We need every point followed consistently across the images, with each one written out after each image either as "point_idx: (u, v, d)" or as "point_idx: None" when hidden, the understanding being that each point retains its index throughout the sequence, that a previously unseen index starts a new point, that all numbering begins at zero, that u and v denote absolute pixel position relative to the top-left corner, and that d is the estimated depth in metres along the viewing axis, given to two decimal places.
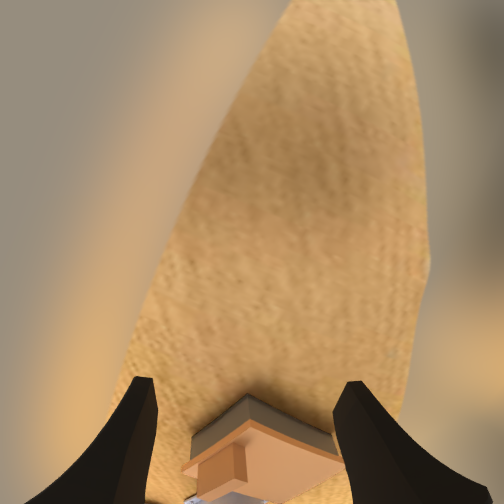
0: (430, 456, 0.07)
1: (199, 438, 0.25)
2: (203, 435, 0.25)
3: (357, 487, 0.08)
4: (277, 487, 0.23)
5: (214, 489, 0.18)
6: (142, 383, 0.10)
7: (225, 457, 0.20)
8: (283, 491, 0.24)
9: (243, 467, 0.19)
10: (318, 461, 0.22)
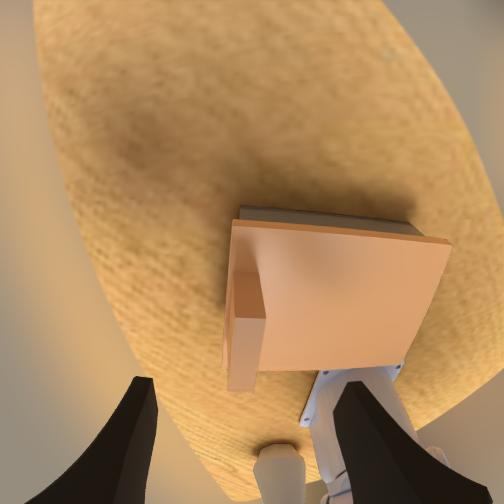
0: (430, 456, 0.07)
1: None
2: None
3: (357, 487, 0.08)
4: (372, 334, 0.17)
5: (232, 359, 0.13)
6: (142, 383, 0.10)
7: (232, 299, 0.14)
8: (387, 338, 0.18)
9: (255, 298, 0.13)
10: (397, 253, 0.15)
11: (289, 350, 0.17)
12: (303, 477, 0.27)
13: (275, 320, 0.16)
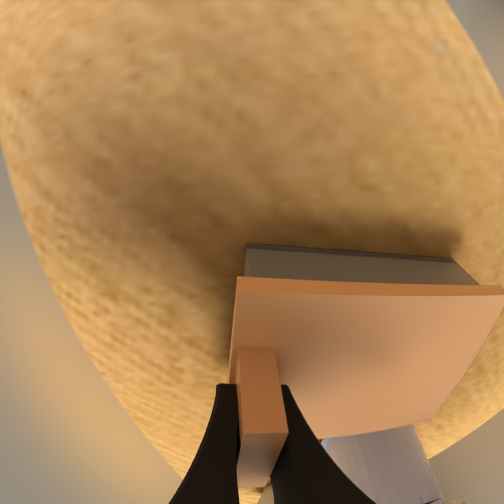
0: (344, 477, 0.07)
1: None
2: None
3: (277, 498, 0.08)
4: (406, 398, 0.13)
5: (238, 466, 0.08)
6: (229, 390, 0.10)
7: (237, 386, 0.10)
8: (421, 399, 0.13)
9: (271, 396, 0.09)
10: (450, 311, 0.10)
11: None
12: None
13: None
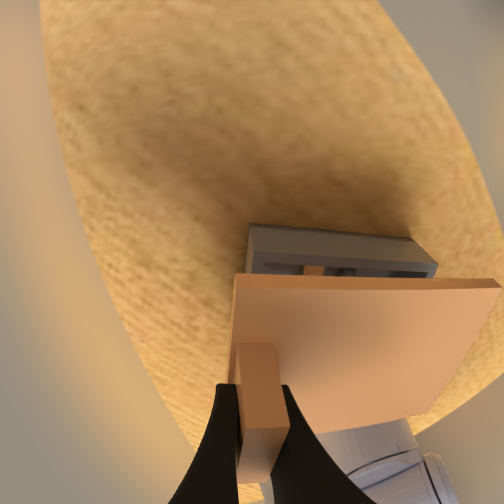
0: (344, 477, 0.07)
1: None
2: None
3: (277, 498, 0.08)
4: (402, 391, 0.13)
5: (240, 461, 0.08)
6: (228, 390, 0.10)
7: (237, 382, 0.10)
8: (417, 392, 0.14)
9: (271, 390, 0.09)
10: (445, 304, 0.11)
11: (305, 417, 0.13)
12: None
13: None
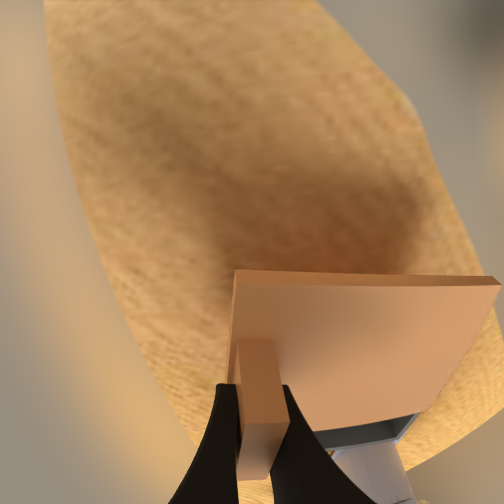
0: (344, 477, 0.07)
1: None
2: None
3: (277, 498, 0.08)
4: (402, 388, 0.13)
5: (240, 458, 0.09)
6: (229, 390, 0.10)
7: (236, 378, 0.10)
8: (417, 389, 0.14)
9: (271, 386, 0.09)
10: (444, 301, 0.11)
11: (305, 414, 0.13)
12: None
13: (290, 388, 0.12)
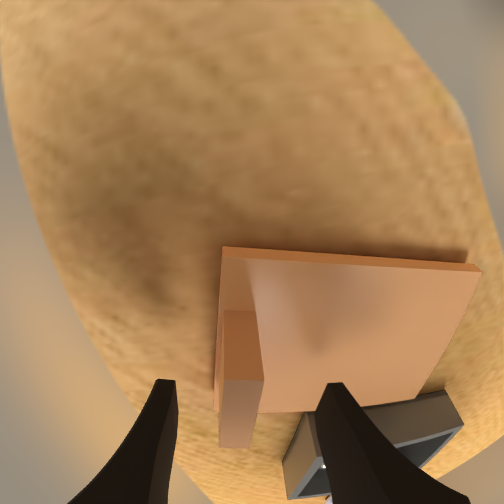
0: (409, 462, 0.07)
1: (286, 465, 0.19)
2: (288, 462, 0.19)
3: (336, 491, 0.08)
4: (386, 372, 0.14)
5: (222, 420, 0.10)
6: (165, 386, 0.10)
7: (222, 346, 0.11)
8: (402, 375, 0.15)
9: (250, 350, 0.10)
10: (422, 284, 0.12)
11: (291, 392, 0.14)
12: None
13: (275, 363, 0.13)
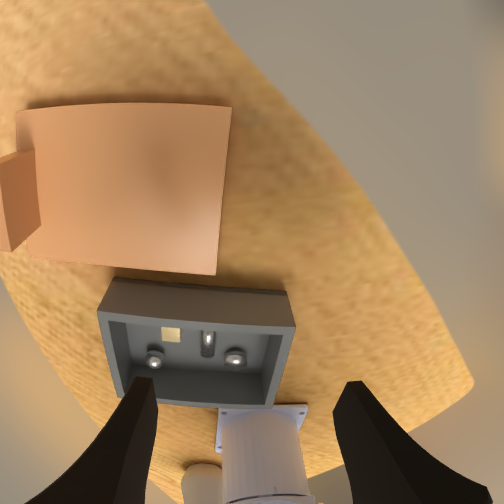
0: (430, 456, 0.07)
1: None
2: None
3: (357, 487, 0.08)
4: (154, 221, 0.16)
5: None
6: (142, 383, 0.10)
7: None
8: (177, 230, 0.16)
9: (9, 158, 0.12)
10: (152, 118, 0.14)
11: (74, 235, 0.16)
12: None
13: (54, 198, 0.15)
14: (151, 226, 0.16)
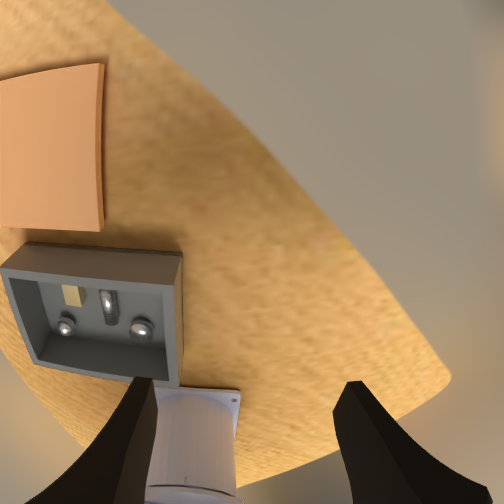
0: (430, 456, 0.07)
1: None
2: None
3: (357, 487, 0.08)
4: (43, 180, 0.14)
5: None
6: (142, 383, 0.10)
7: None
8: (61, 187, 0.15)
9: None
10: (37, 85, 0.12)
11: None
12: None
13: None
14: (41, 185, 0.14)
